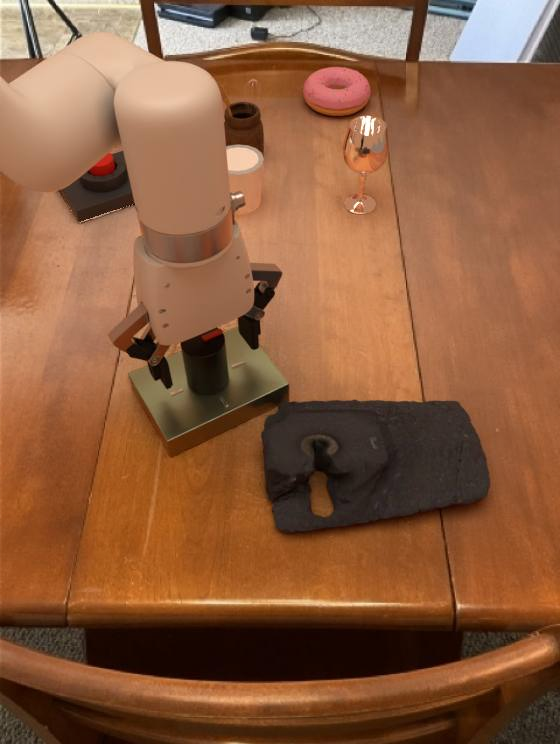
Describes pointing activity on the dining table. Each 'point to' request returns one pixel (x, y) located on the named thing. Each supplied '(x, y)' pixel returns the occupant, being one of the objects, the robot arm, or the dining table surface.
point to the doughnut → (336, 91)
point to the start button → (103, 166)
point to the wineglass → (364, 157)
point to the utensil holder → (243, 122)
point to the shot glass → (245, 175)
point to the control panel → (210, 396)
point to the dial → (206, 362)
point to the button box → (100, 191)
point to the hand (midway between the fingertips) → (207, 359)
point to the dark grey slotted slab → (370, 460)
